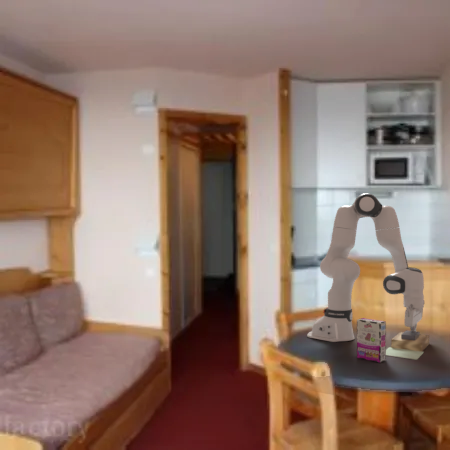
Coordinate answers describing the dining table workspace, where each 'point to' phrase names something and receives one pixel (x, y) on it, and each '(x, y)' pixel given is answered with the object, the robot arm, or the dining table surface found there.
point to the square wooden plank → (410, 342)
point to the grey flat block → (410, 335)
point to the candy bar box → (371, 340)
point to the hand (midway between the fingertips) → (413, 332)
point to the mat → (403, 353)
